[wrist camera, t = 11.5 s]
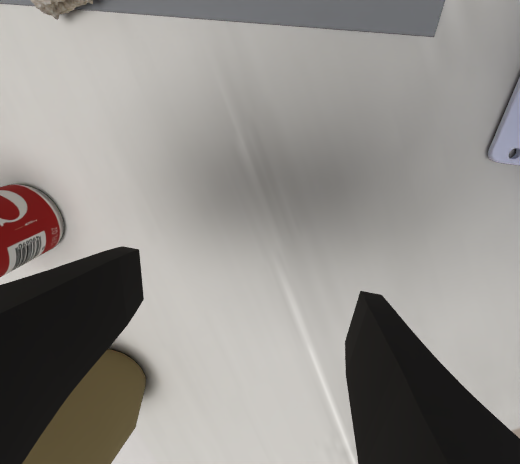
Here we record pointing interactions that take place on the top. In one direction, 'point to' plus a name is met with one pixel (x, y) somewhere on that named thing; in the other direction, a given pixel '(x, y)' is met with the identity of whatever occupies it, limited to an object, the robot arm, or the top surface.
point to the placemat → (291, 12)
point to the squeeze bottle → (94, 415)
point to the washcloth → (58, 6)
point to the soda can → (26, 225)
